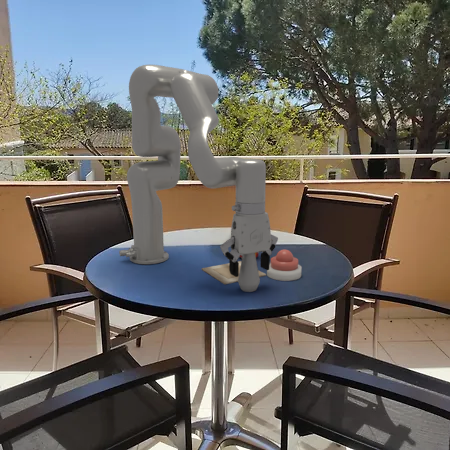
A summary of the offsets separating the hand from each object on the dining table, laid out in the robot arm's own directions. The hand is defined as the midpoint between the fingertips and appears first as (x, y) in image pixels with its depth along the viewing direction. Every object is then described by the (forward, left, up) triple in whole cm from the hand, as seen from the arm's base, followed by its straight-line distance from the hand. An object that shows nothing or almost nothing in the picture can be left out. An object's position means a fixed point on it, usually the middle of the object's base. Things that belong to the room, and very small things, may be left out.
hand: (249, 271), depth 109 cm
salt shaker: (0, 0, -5) cm, 5 cm away
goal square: (+3, +13, -5) cm, 14 cm away
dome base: (+15, +4, -5) cm, 16 cm away
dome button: (+15, +4, -2) cm, 16 cm away
